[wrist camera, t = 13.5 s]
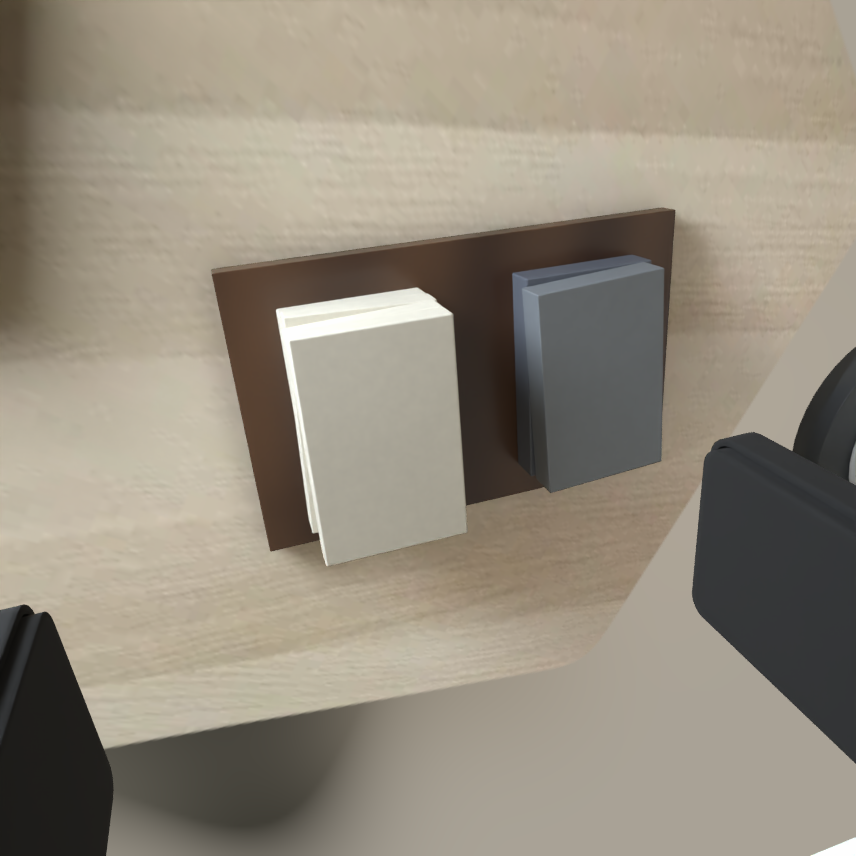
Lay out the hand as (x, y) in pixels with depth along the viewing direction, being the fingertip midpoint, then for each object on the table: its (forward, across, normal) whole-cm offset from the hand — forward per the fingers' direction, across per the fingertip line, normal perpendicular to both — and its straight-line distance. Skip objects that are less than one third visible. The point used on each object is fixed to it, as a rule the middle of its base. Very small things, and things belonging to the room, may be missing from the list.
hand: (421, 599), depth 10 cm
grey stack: (+25, -16, +7) cm, 30 cm away
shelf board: (+26, -10, +7) cm, 29 cm away
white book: (+21, -4, +7) cm, 22 cm away
